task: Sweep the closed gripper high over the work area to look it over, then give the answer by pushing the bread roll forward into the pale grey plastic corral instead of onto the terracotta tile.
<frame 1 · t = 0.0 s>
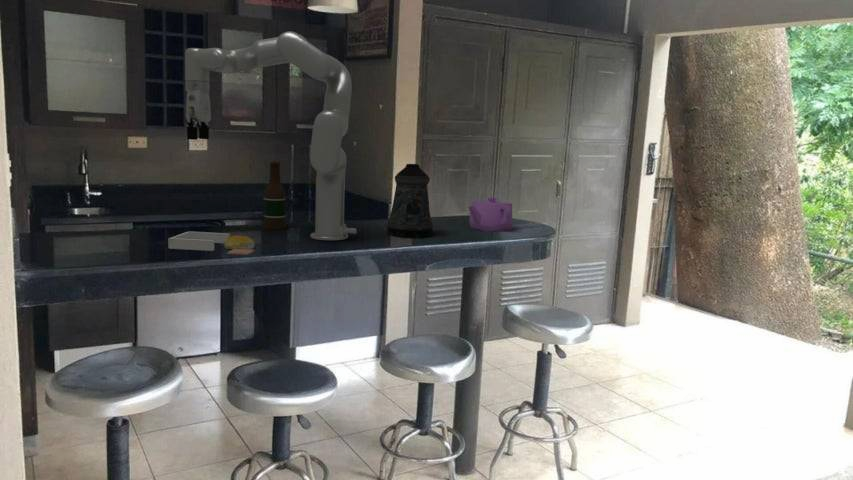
hand: (198, 139, 234), 31 cm above the table, tool pointing down, fingers open, 9 cm apart
tile: (240, 252, 205), on the table
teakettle: (488, 229, 273), on the table
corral: (201, 245, 213), on the table
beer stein: (408, 234, 251), on the table
beer bottle: (274, 229, 252), on the table
bread roll: (239, 249, 212), on the table
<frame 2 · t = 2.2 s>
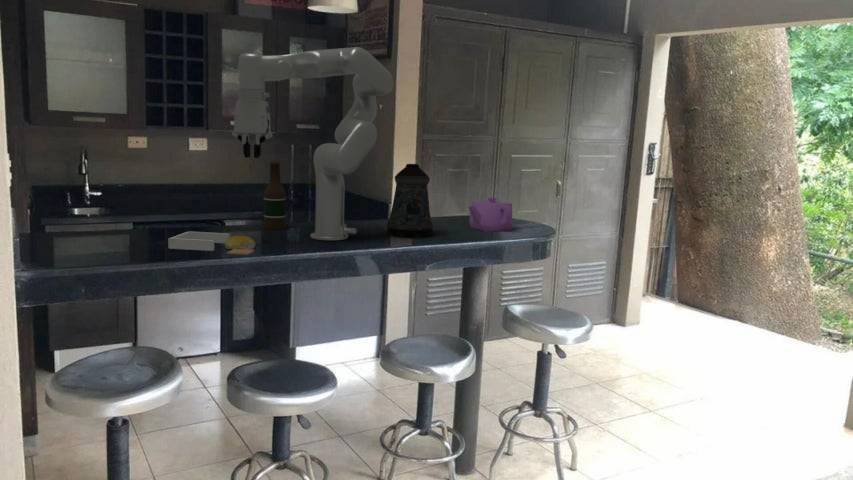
hand: (252, 157, 213), 27 cm above the table, tool pointing down, fingers closed
nothing on the table moved.
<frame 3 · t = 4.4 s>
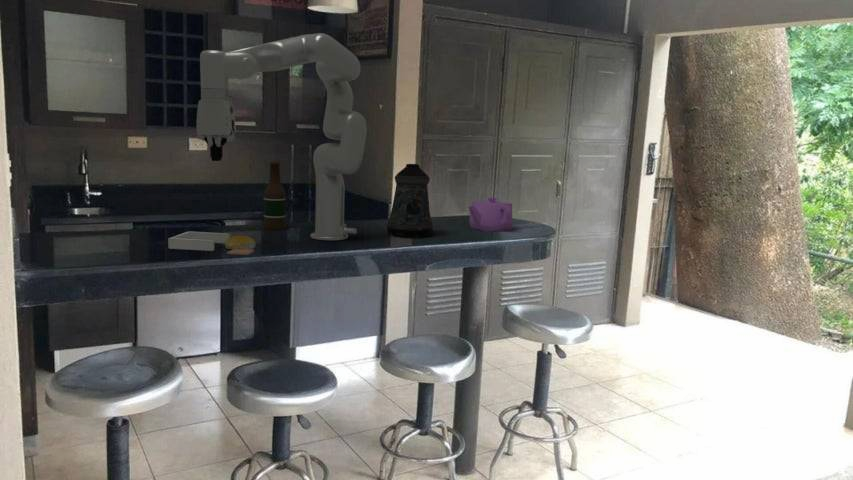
hand: (216, 160, 201), 26 cm above the table, tool pointing down, fingers closed
nothing on the table moved.
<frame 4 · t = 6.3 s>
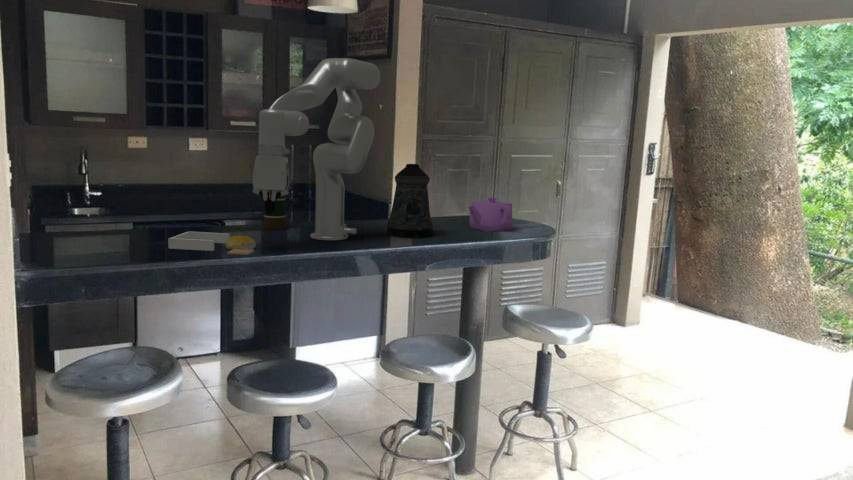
hand: (270, 213, 209), 11 cm above the table, tool pointing down, fingers closed
nothing on the table moved.
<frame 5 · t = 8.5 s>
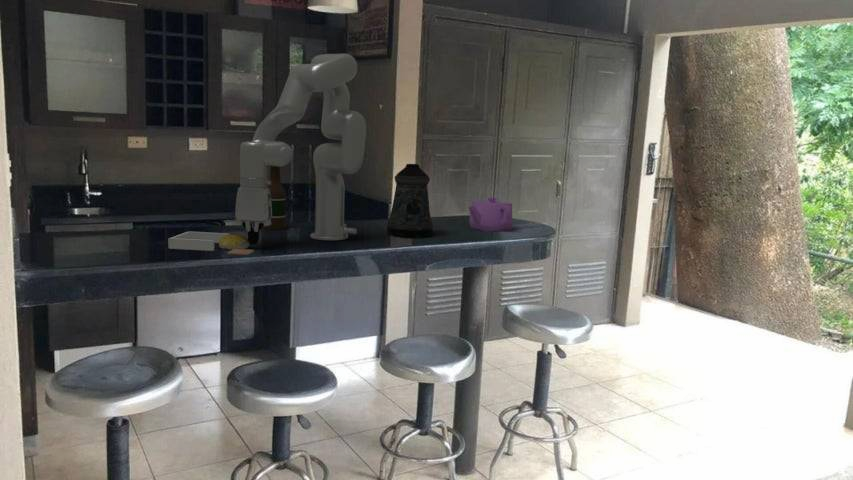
hand: (253, 244, 212), 1 cm above the table, tool pointing down, fingers closed
bread roll: (234, 248, 212), on the table, touching gripper
everything else where it was.
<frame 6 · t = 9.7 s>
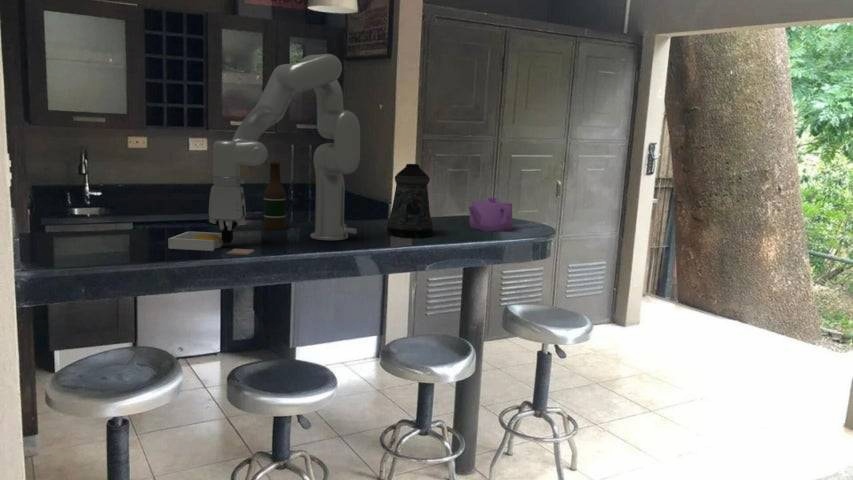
hand: (227, 242, 212), 1 cm above the table, tool pointing down, fingers closed
bread roll: (207, 247, 212), on the table
everything else where it was.
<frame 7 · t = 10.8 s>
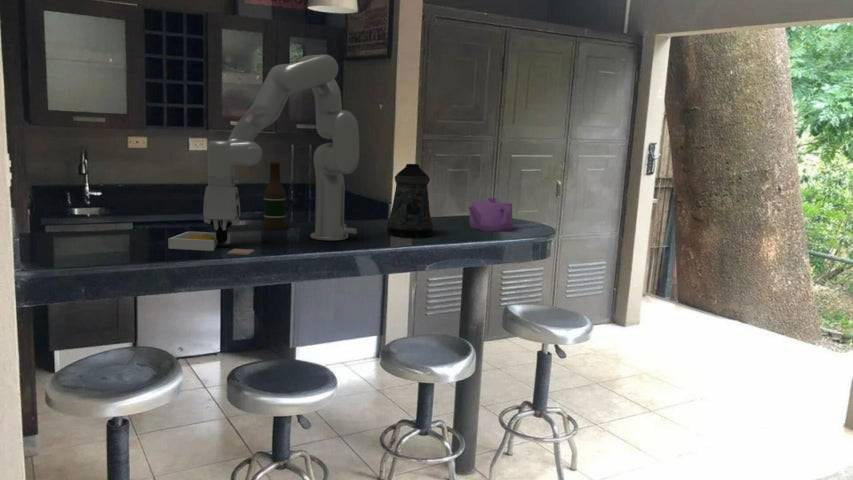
hand: (221, 242, 212), 1 cm above the table, tool pointing down, fingers closed
bread roll: (201, 248, 212), on the table
everything else where it was.
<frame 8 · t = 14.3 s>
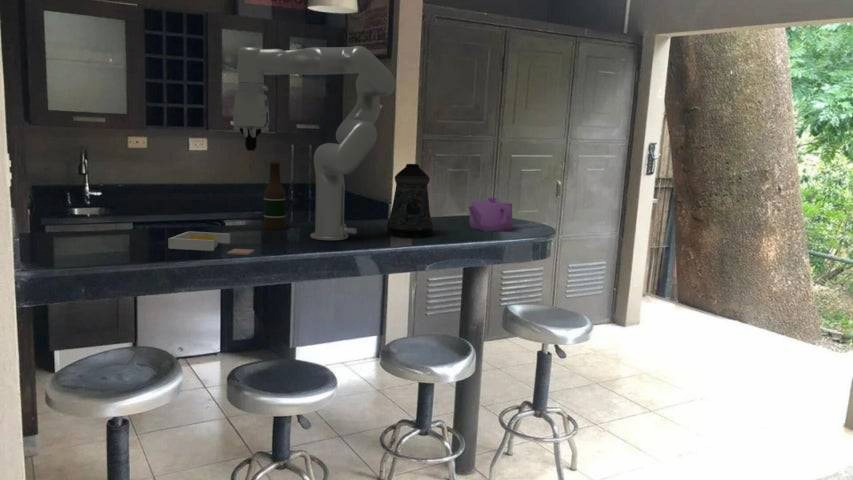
hand: (251, 150, 215), 29 cm above the table, tool pointing down, fingers closed
nothing on the table moved.
at the end: bread roll inside the target area on the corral (3.2 cm from its centre), point -0.5 cm above the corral's base; bread roll moved 11.2 cm from its start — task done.
